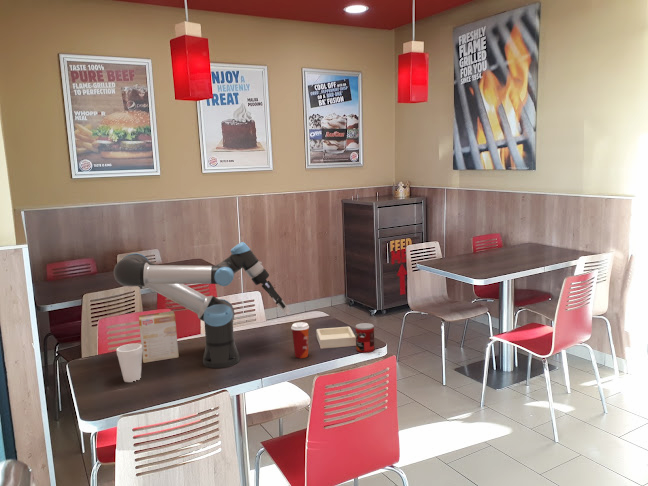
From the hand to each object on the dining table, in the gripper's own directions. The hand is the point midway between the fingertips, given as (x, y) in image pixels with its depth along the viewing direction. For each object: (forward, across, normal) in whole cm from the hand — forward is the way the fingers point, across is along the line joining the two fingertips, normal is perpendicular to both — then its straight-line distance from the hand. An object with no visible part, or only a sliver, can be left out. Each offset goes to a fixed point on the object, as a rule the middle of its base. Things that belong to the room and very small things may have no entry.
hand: (285, 310), depth 238 cm
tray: (+26, -2, -10) cm, 28 cm away
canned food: (+32, -17, -16) cm, 40 cm away
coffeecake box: (-16, +6, +56) cm, 58 cm away
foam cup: (-20, -14, +65) cm, 69 cm away
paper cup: (+17, -14, +7) cm, 23 cm away
